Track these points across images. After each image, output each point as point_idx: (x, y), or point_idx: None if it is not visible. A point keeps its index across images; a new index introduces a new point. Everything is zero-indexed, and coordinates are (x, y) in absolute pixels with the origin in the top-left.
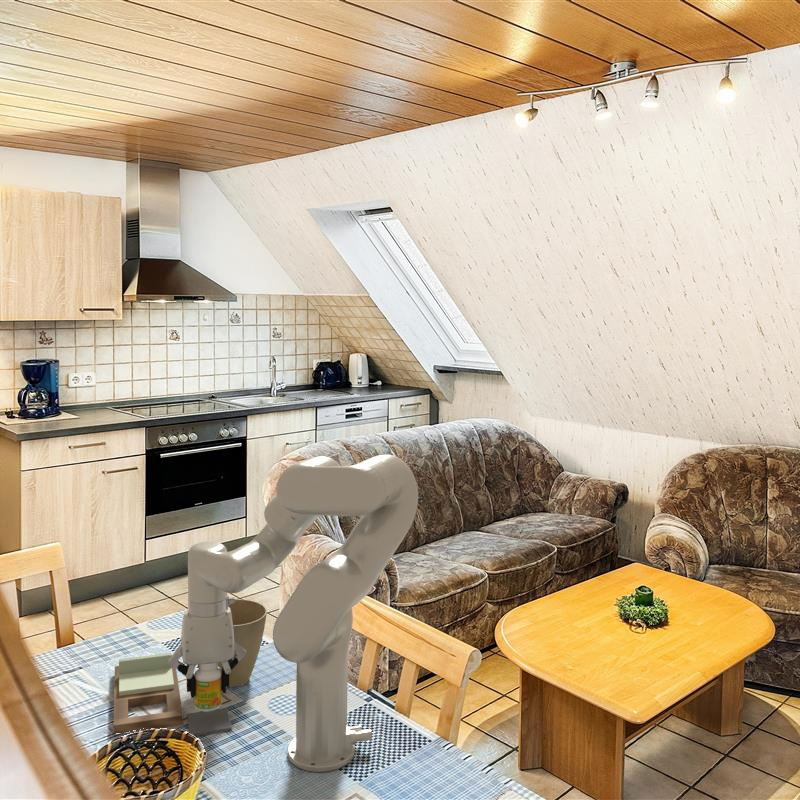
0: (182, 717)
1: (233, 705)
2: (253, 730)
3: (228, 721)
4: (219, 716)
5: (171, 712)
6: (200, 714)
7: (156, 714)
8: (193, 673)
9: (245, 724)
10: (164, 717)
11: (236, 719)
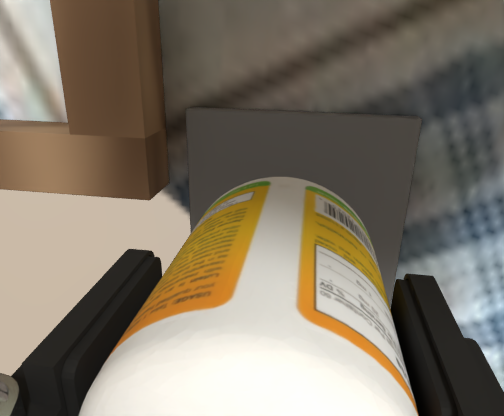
0: (152, 195)
1: (478, 63)
2: (483, 347)
3: (387, 267)
4: (354, 203)
5: (88, 148)
6: (257, 146)
7: (11, 142)
8: (72, 392)
9: (467, 288)
10: (57, 187)
11: (439, 228)
